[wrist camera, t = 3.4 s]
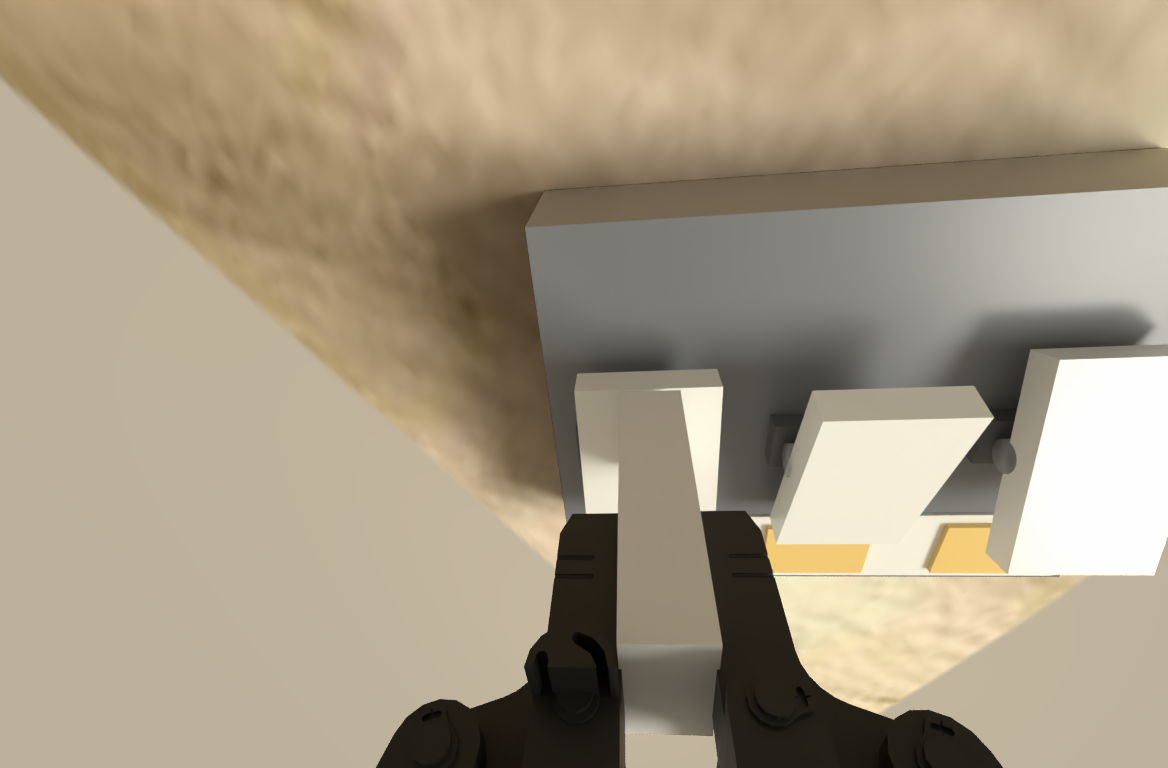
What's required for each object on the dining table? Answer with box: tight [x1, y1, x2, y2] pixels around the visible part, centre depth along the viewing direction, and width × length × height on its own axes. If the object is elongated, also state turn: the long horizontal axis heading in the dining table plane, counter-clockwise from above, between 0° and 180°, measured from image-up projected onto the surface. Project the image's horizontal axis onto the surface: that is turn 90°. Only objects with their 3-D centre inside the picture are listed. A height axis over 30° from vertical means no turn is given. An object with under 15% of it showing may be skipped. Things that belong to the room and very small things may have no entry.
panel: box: [525, 148, 1168, 577], centre depth 18 cm, size 14×18×5 cm
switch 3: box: [985, 344, 1168, 575], centre depth 14 cm, size 6×4×2 cm, turn 4°
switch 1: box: [574, 369, 723, 514], centre depth 16 cm, size 6×4×2 cm, turn 4°
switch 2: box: [770, 386, 994, 544], centre depth 15 cm, size 6×4×2 cm, turn 5°
